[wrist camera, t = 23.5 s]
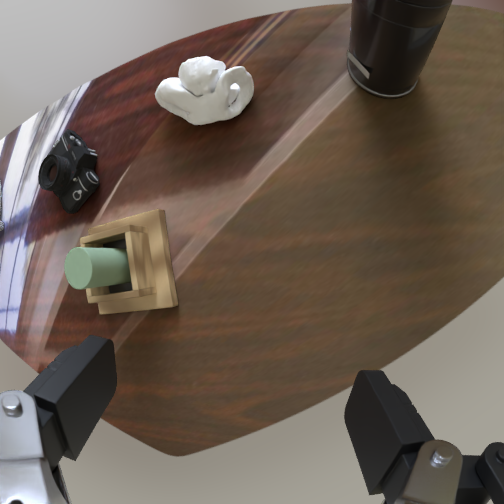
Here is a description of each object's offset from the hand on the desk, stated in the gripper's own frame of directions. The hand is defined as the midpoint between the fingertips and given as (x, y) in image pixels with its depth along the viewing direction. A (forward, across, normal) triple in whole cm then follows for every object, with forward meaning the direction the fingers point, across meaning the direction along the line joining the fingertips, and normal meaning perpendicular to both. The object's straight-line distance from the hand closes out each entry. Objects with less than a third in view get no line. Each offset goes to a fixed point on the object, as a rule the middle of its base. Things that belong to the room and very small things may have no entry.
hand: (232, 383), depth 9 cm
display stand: (+30, +15, +6) cm, 34 cm away
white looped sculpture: (+33, +7, -16) cm, 37 cm away
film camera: (+36, +28, -6) cm, 45 cm away
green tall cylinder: (+28, +15, +6) cm, 32 cm away
